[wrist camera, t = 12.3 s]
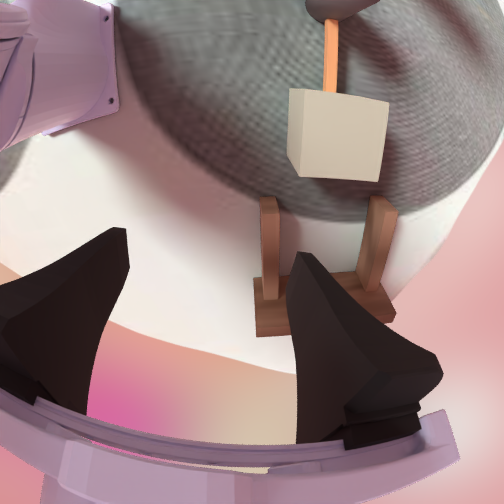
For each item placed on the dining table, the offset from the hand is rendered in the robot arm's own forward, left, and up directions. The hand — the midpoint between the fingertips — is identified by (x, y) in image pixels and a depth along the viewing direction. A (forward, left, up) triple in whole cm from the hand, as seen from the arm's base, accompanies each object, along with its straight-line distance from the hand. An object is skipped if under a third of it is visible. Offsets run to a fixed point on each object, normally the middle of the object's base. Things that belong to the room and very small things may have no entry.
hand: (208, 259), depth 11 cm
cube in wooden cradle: (+6, +8, -10) cm, 14 cm away
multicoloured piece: (-8, +8, -10) cm, 15 cm away
